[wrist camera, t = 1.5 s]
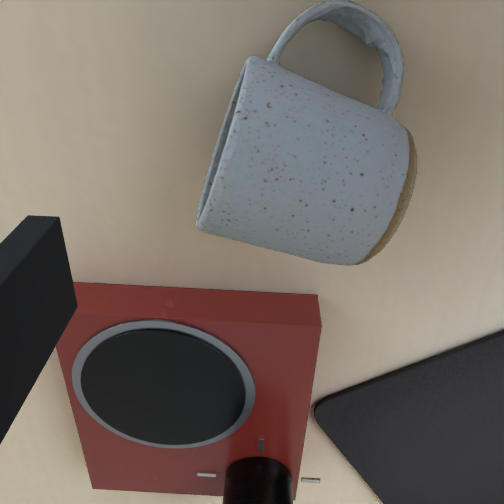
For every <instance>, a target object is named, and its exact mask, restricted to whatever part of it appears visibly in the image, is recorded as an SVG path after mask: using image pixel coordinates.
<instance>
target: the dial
mask: <svg viewBox="0 0 504 504" xmlns="http://www.w3.org/2000/svg"><path fill="white" fill-rule="evenodd" d="M223 504H293V487H292V474H291V472H290V470H289V469H288V468H287V467H286V466H285V465H284V464H282V463H281V462H279V461H276V460H274V459H270V458H265V457H249V458H244V459H241V460H238V461H236V462H234V463H233V464H232V465H230V467H229V468H228V469H227V471H226V474H225V484H224V495H223Z"/></svg>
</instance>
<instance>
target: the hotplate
mask: <svg viewBox="0 0 504 504" xmlns="http://www.w3.org/2000/svg"><path fill="white" fill-rule="evenodd" d="M73 285H74V290H75V295H76V300H77V304H78V307H77V309H76V311H75V313H74V314H73V316H72V318H71V320H70V321H69V323H68V325H67V327H66V329H65V330H64V332H63V334H62V336H61V337H60V339H59V341H58V343H57V344H56V348H57V352H58V356H59V360H60V364H61V368H62V372H63V376H64V379H65V383H66V387H67V391H68V395H69V399H70V403H71V406H72V410H73V414H74V418H75V422H76V426H77V430H78V434H79V437H80V441H81V445H82V449H83V453H84V457H85V461H86V464H87V468H88V472H89V476H90V480H91V484H92V488H93V489H106V490H123V491H140V492H157V493H175V494H192V495H209V496H223V495H224V484H225V474H226V471H227V469H228V468H229V467H230V465H232V464H233V463H234V462H236V461H238V460H241V459H244V458H249V457H265V458H270V459H274V460H276V461H279V462H281V463H282V464H284V465H285V466H286V467H287V468H288V469H289V470H290V472H291V474H292V487H293V500H295V498H296V492H297V485H298V478H299V472H300V465H301V459H302V452H303V446H304V439H305V432H306V426H307V419H308V413H309V406H310V400H311V393H312V386H313V380H314V373H315V367H316V360H317V354H318V347H319V341H320V334H321V327H322V325H321V317H320V310H319V303H318V296H317V295H310V294H291V293H272V292H252V291H233V290H214V289H194V288H175V287H156V286H136V285H117V284H98V283H78V282H73ZM139 319H164V320H172V321H177V322H182V323H186V324H189V325H193V326H196V327H198V328H201V329H203V330H205V331H208V332H210V333H212V334H213V335H215V336H217V337H219V338H220V339H222V340H223V341H225V342H226V343H228V344H229V345H230V346H231V347H232V348H233V349H234V350H236V351H237V352H238V353H239V355H240V356H241V357H242V358H243V359H244V361H245V362H246V364H247V365H248V367H249V369H250V371H251V373H252V376H253V379H254V383H255V402H254V406H253V409H252V412H251V413H250V415H249V417H248V419H247V420H246V421H245V422H244V424H243V425H242V426H241V427H240V428H239V429H237V430H236V431H235V432H234V433H232V434H231V435H229V436H227V437H225V438H223V439H221V440H219V441H217V442H214V443H211V444H207V445H204V446H199V447H193V448H180V449H178V448H160V447H154V446H148V445H144V444H141V443H137V442H134V441H131V440H128V439H126V438H124V437H121V436H119V435H117V434H115V433H113V432H112V431H110V430H108V429H107V428H105V427H104V426H102V425H101V424H99V423H98V422H97V421H96V420H95V419H93V418H92V417H91V416H90V415H89V414H88V412H87V411H86V410H85V409H84V408H83V406H82V405H81V403H80V402H79V400H78V398H77V396H76V394H75V391H74V388H73V383H72V368H73V363H74V360H75V358H76V356H77V354H78V352H79V350H80V349H81V348H82V346H83V345H84V344H85V343H86V342H87V341H88V340H89V339H90V338H91V337H92V336H94V335H95V334H97V333H98V332H99V331H101V330H103V329H105V328H107V327H109V326H112V325H115V324H118V323H121V322H126V321H131V320H139ZM301 482H311V483H320V478H304V477H302V478H301Z"/></svg>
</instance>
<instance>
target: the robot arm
mask: <svg viewBox="0 0 504 504" xmlns="http://www.w3.org/2000/svg"><path fill="white" fill-rule="evenodd" d="M77 307H78V304H77V300H76V295H75V290H74V285H73V280H72V276H71V271H70V266H69V261H68V256H67V251H66V247H65V242H64V237H63V232H62V227H61V223H60V218H59V217H51V216H29V215H28V216H27V217H26V218H25V219H24V220H23V221H22V222H21V223H20V224H19V225H18V226H17V227H16V228H15V229H14V230H13V231H12V232H11V233H10V234H9V235H8V236H7V237H6V238H5V239H4V240H3V241H2V242H1V243H0V444H1V442H2V440H3V438H4V437H5V435H6V433H7V431H8V430H9V428H10V426H11V424H12V422H13V421H14V419H15V417H16V415H17V414H18V412H19V410H20V408H21V407H22V405H23V403H24V401H25V399H26V398H27V396H28V394H29V392H30V391H31V389H32V387H33V385H34V383H35V382H36V380H37V378H38V376H39V375H40V373H41V371H42V369H43V368H44V366H45V364H46V362H47V360H48V359H49V357H50V355H51V353H52V352H53V350H54V348H55V346H56V344H57V343H58V341H59V339H60V337H61V336H62V334H63V332H64V330H65V329H66V327H67V325H68V323H69V321H70V320H71V318H72V316H73V314H74V313H75V311H76V309H77Z"/></svg>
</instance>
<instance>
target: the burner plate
mask: <svg viewBox="0 0 504 504" xmlns="http://www.w3.org/2000/svg"><path fill="white" fill-rule="evenodd" d="M72 383H73V388H74V391H75V394H76V396H77V398H78V400H79V402H80V403H81V405H82V406H83V408H84V409H85V410H86V411H87V412H88V414H89V415H90V416H91V417H92V418H93V419H95V420H96V421H97V422H98V423H99V424H101V425H102V426H104V427H105V428H107V429H108V430H110V431H112V432H113V433H115V434H117V435H119V436H121V437H124V438H126V439H128V440H131V441H134V442H137V443H141V444H144V445H148V446H154V447H160V448H178V449H180V448H193V447H199V446H204V445H207V444H211V443H214V442H217V441H219V440H221V439H223V438H225V437H227V436H229V435H231V434H232V433H234V432H235V431H236V430H237V429H239V428H240V427H241V426H242V425H243V424H244V422H245V421H246V420H247V419H248V417H249V415H250V413H251V412H252V409H253V406H254V402H255V383H254V379H253V376H252V373H251V371H250V369H249V367H248V365H247V364H246V362H245V361H244V359H243V358H242V357H241V356H240V355H239V353H238V352H237V351H236V350H234V349H233V348H232V347H231V346H230V345H229V344H228V343H226V342H225V341H223V340H222V339H220V338H219V337H217V336H215V335H213V334H212V333H210V332H208V331H205V330H203V329H201V328H198V327H196V326H193V325H189V324H186V323H182V322H177V321H172V320H164V319H139V320H131V321H126V322H121V323H118V324H115V325H112V326H109V327H107V328H105V329H103V330H101V331H99V332H98V333H97V334H95V335H94V336H92V337H91V338H90V339H89V340H88V341H87V342H86V343H85V344H84V345H83V346H82V348H81V349H80V350H79V352H78V354H77V356H76V358H75V360H74V363H73V368H72Z"/></svg>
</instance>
